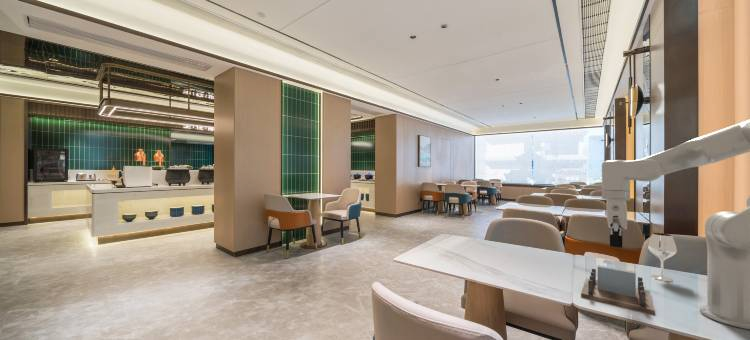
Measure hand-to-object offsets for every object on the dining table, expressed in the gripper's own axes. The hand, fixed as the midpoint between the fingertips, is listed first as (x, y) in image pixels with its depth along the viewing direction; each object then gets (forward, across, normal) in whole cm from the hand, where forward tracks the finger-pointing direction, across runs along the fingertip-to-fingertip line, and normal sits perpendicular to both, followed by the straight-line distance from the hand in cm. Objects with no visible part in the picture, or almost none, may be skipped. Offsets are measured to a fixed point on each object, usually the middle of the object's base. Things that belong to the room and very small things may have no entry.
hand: (616, 244), depth 98 cm
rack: (+18, 0, 0) cm, 18 cm away
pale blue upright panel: (+17, 0, 0) cm, 17 cm away
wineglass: (+18, +34, -14) cm, 41 cm away
